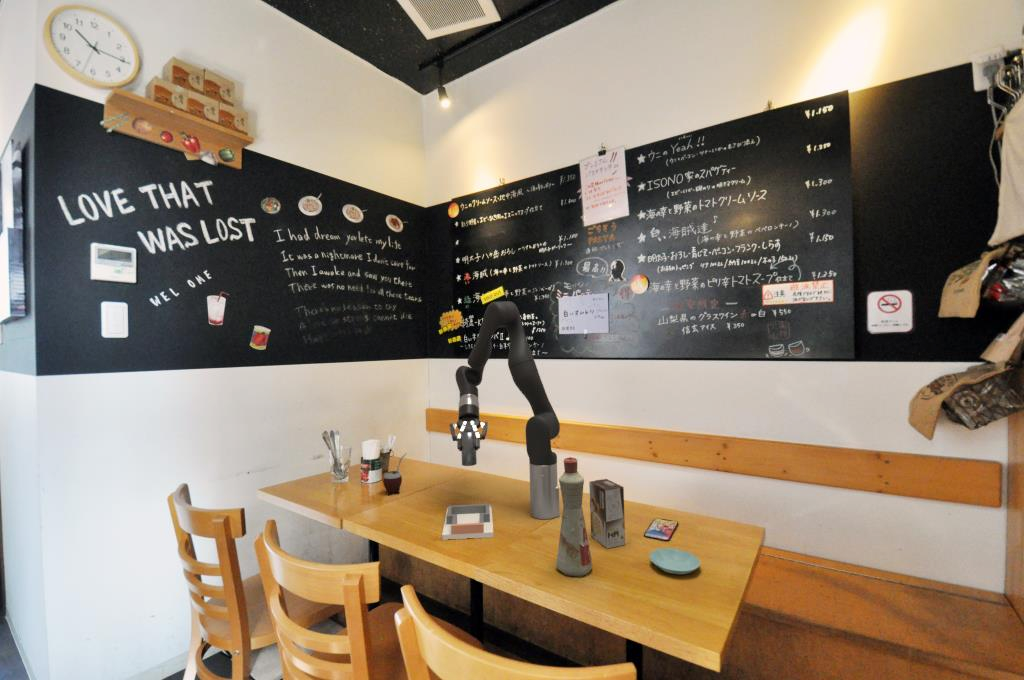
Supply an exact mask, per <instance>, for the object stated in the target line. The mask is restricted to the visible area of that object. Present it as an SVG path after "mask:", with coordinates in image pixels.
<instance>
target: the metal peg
mask: <svg viewBox="0 0 1024 680" xmlns="http://www.w3.org/2000/svg"><path fill="white" fill-rule="evenodd" d="M461 450H462V451H460V452H461V466H464V467H471V466H472V467H473V466H475V465H477V463H478V461H477V460H478V459H477V450H476V431H474V430H467V431H461Z"/></svg>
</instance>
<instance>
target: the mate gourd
mask: <svg viewBox="0 0 1024 680" xmlns="http://www.w3.org/2000/svg"><path fill="white" fill-rule="evenodd" d="M406 455H407V452H406V453H404V455H402V456H401V458H400V459H399V460H398V461H399V462H398V464H397V468H396V470H391V471H387V472H385V473H384V475H383V480H382V483H383V486H384V489H385V493H386V496H387V495H388V496H392V495H400V494H399V493H400V489H401V485H402V482H403V478H402V474H401V472H400V471H399V469H400V466H401V463H402V460H403V459H404V458H405V457H406ZM393 493H394V494H393Z"/></svg>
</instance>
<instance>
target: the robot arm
mask: <svg viewBox="0 0 1024 680" xmlns="http://www.w3.org/2000/svg"><path fill="white" fill-rule="evenodd" d="M498 328H505V329H506V331H507V334H508V338H509V352H508V357H507V365H508V369H509V372H510V374H511V378H512V381H513V382H514V384H515V386H516V388H517V389H518V390H519V391H520V393H521V394H522V395H523V396H524V397H525V398H526V400H527V402H528V403H529V406H530V408H531V410H532V413H533V416H531V417H530V418H529V419H528V420H527V422H526V424H525V445H526V453H527V457H528V460H529V461H528V462H529V464H528V466H529V497H530V498H529V499H530V500H529V503H530V504H529V505H530V506H529V507H530V509H529V510H530V516H531V517H533V518H535V519H538V520H549V519H554V518H557V517H559V518H560V488H559V484H558V455H557V454H556V453H555V451H553V450H552V440H554V439H556V438H557V437H559V434H560V431H561V425H560V422H559V419H558V416H557V413H556V412H555V410H554V408H553V406H552V404H551V401H550V400H549V399H550V398H549V397H548V395H547V392H546V389H545V386H544V384H543V381H542V379H541V376H540V372H539V370H538V366H537V364H536V362H535V359H534V357H533V354H532V351H531V349H530V345H529V342H528V340H527V336H526V333H525V328H524V325H523V322H522V318H521V314H520V310H519V309H518V307H517V305H516V304H515V302H513V301H505V300H504V301H494V302H491V303H490V304H488V306H487V307H486V309H485V312H484V314H483V318H482V320H481V324H480V328H479V331H478V334H477V335H478V336H477V339H476V341H475V344H474V345H473V348H472V349H471V351H470V353H469V356H468V358H467V364H468V366H467V365H461V366H459V367H458V368H457V369H456V371H455V375H454V376H455V381H456V384H457V387H458V391H459V401H458V417H457V418H458V420H457V422H456V423H454V424H453V423H449V424H448V425H449V431H450V435H451V439H452V441H453V442H456V443H457V445H456V447H457V450H459V452H461V451H462V450H461V431H467V430H474V431H476V451H479V450H480V448H481V441H482V440H483V441H484V440H485V439H486V437H487V433H488V429H489V423H488V422H487V421H485V422H482V421H481V420H480V402H479V389H478V386H479V385H481V383H482V382H483V375H484V371H485V367H486V364H487V362H488V360H490V356H491V355H492V350H493V344H492V337H493V335H494V334H495V332H496V330H497V329H498ZM480 427H481V429H482V431H481V434H480V433H479V429H480ZM457 429H458V430H459V431H458V432H459V433H458V435H456V430H457Z"/></svg>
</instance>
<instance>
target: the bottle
mask: <svg viewBox="0 0 1024 680" xmlns="http://www.w3.org/2000/svg"><path fill="white" fill-rule="evenodd" d="M563 466H564V467H563V468H564V472H563V473H562V475H561V476H560V477H559V479H558V481H559V486H560V488H559V490H560V494H561V499H562V505H563V506H562V513H561V524H560V531H559V532H560V533H559V540H558V549H557V556H556V561H555V566H556V568H557V569H558V570H559V571H560V572H562V573H563V574H565V576H572V577H584V576H586V575H588V573H590V571H591V569H592V567H593V560H592V554H591V549H590V544H589V543H590V542H589V538H588V532H587V526H586V519H585V515H584V511H583V510H584V509H583V506H582V505H583V498H584V496H583V494H584V484H585V479H584V477H583V476H582V475H581V474H580V473H579V471H578V459H577V458H576V457H572V456H570V457H565V458H564V459H563Z"/></svg>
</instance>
